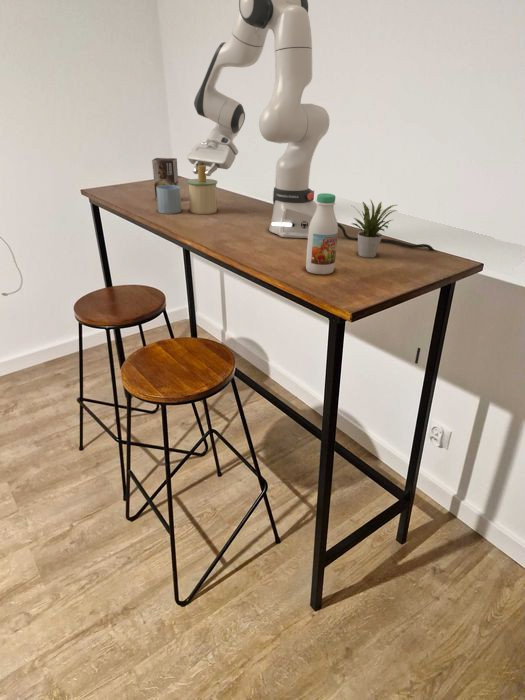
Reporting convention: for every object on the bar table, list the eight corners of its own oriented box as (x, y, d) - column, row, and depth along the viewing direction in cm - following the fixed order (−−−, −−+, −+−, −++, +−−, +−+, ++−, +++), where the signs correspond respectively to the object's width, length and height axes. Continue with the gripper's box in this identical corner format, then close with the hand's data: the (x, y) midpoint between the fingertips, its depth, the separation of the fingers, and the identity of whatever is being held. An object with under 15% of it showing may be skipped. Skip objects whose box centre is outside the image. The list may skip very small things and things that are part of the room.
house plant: (404, 256, 142) (414, 200, 134) (378, 266, 133) (387, 207, 125) (365, 245, 151) (372, 192, 143) (338, 254, 142) (344, 198, 134)
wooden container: (220, 209, 189) (219, 181, 184) (211, 214, 181) (210, 186, 176) (195, 206, 192) (194, 179, 186) (186, 212, 183) (184, 184, 178)
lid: (221, 183, 185) (221, 164, 182) (211, 188, 175) (211, 169, 172) (194, 181, 187) (193, 163, 184) (182, 186, 178) (181, 167, 174)
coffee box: (179, 197, 206) (177, 158, 198) (176, 201, 200) (173, 160, 192) (159, 196, 207) (156, 157, 199) (154, 200, 201) (151, 159, 193)
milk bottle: (300, 271, 128) (305, 195, 118) (314, 263, 134) (319, 190, 124) (325, 277, 125) (333, 199, 115) (338, 269, 130) (346, 194, 120)
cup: (184, 209, 187) (183, 185, 183) (175, 214, 180) (174, 190, 175) (164, 207, 189) (162, 184, 185) (154, 212, 181) (152, 188, 177)
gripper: (194, 135, 184) (177, 165, 182) (234, 140, 173) (216, 171, 171) (203, 147, 189) (186, 176, 187) (241, 152, 178) (224, 182, 176)
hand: (200, 174), depth 179 cm, fingers open, 5 cm apart
